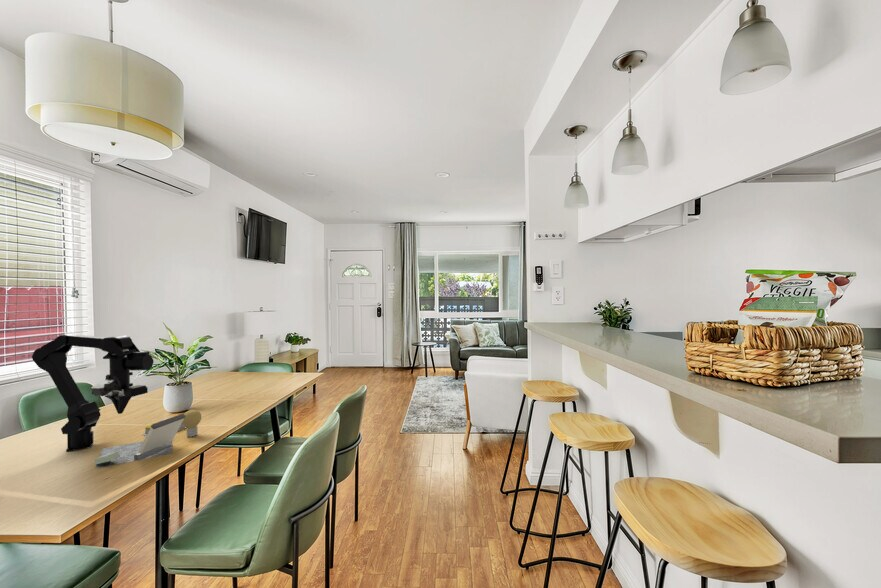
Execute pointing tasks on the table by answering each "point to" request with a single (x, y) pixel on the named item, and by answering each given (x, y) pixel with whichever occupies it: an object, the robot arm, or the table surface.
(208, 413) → the table surface
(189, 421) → the light bulb
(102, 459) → the rocker
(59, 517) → the table surface
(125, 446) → the panel
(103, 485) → the table surface
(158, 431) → the beige square plate
